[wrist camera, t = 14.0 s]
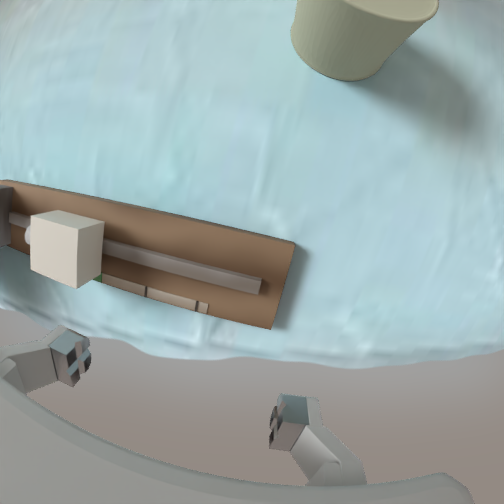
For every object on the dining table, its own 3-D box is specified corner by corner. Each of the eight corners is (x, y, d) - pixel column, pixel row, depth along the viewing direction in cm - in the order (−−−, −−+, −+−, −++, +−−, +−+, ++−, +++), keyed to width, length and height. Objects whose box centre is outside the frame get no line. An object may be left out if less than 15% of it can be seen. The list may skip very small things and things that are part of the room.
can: (382, 93, 21) (451, 43, 9) (284, 69, 21) (293, -10, 9) (384, 21, 19) (432, -41, 7) (296, -2, 19) (306, -82, 7)
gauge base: (7, 179, 25) (-41, 185, 17) (293, 241, 25) (305, 271, 16) (5, 238, 27) (-40, 253, 18) (270, 322, 27) (270, 377, 18)
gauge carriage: (48, 206, 23) (18, 211, 19) (107, 220, 23) (78, 229, 18) (46, 267, 25) (19, 280, 20) (103, 288, 25) (77, 307, 20)
